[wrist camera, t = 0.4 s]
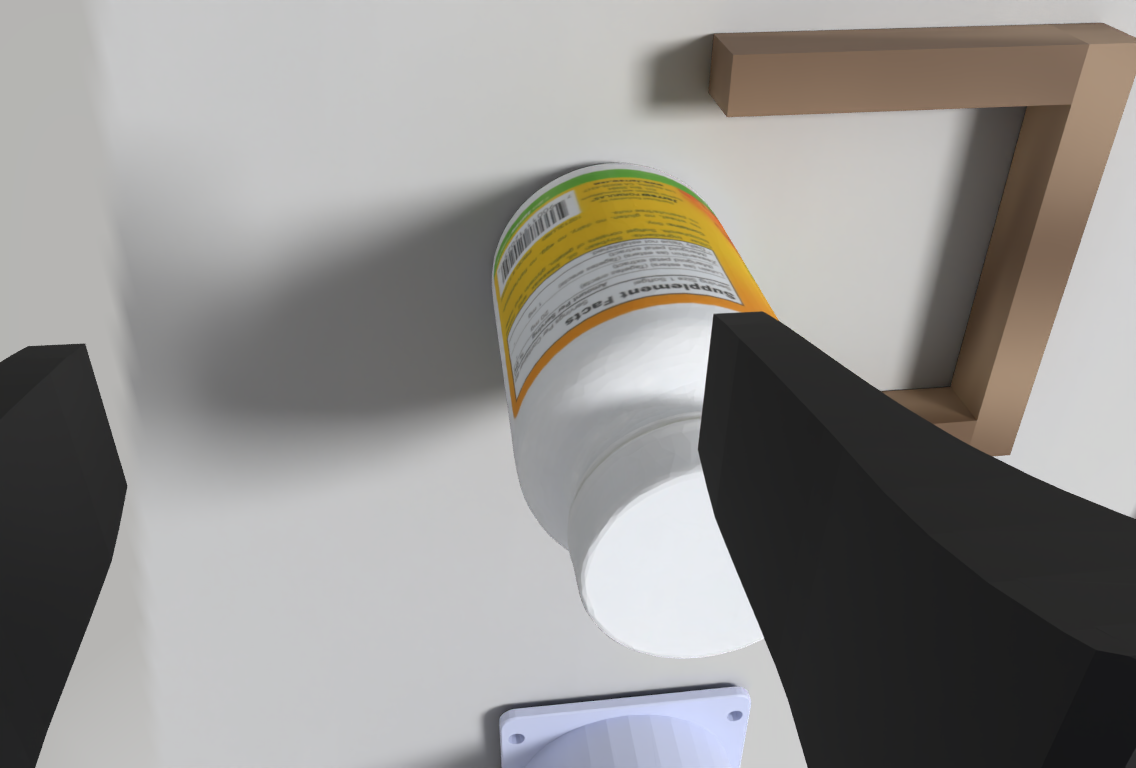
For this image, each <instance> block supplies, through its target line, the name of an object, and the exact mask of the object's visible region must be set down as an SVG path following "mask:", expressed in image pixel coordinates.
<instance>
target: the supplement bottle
mask: <svg viewBox="0 0 1136 768" xmlns="http://www.w3.org/2000/svg"><path fill="white" fill-rule="evenodd" d="M492 293H493V304H494V311H495V318H496V326H497V333H498V340H499V347H500V354H501V362H502V369H503V376H504V383H505V391H506V398H507V405H508V412H509V420H510V428H511V436H512V444H513V451H514V458H515V463H516V469H517V474H518V478H519V482H520V486H521V489H522V492H523V495H524V498H525V500H526V502H527V504H528V506H529V508H530V510H531V511H532V513H533V515H534V516H535V518H536V519H537V521H538V522H539V524H540V525H541V526H542V527H543V529H544V530H545V531H546V532H547V533H548V534H549V535H550V536H551V537H552V538H553V539H554V540H555V541H556V542H558V543H559V544H560V545H561V546H563V547H564V548H565V549H567V550H568V551H569V553H570V557H571V560H572V563H573V567H574V571H575V576H576V581H577V585H578V590H579V594H580V598H581V601H582V603H583V605H584V608H585V610H586V612H587V613H588V615H589V616H590V617H591V619H592V620H593V622H594V623H595V624H596V625H597V626H598V628H599V629H600V630H601V631H603V632H604V633H605V634H606V635H607V636H608V637H610V638H611V639H613V640H614V641H616V642H617V643H619V644H621V645H623V646H625V647H627V648H630V649H632V650H634V651H637V652H641V653H645V654H649V655H652V656H658V657H665V658H701V657H708V656H715V655H719V654H723V653H727V652H731V651H734V650H738V649H741V648H744V647H746V646H749V645H751V644H754V643H756V642H758V641H760V640H762V639H764V636H763V634H762V632H761V629H760V627H759V624H758V622H757V620H756V617H755V615H754V612H753V610H752V608H751V605H750V603H749V600H748V598H747V596H746V593H745V591H744V588H743V586H742V584H741V581H740V579H739V576H738V574H737V572H736V569H735V567H734V564H733V562H732V559H731V557H730V554H729V552H728V549H727V547H726V544H725V542H724V540H723V537H722V535H721V532H720V529H719V527H718V524H717V522H716V519H715V516H714V513H713V509H712V505H711V501H710V498H709V494H708V490H707V486H706V482H705V478H704V474H703V470H702V466H701V461H700V457H699V453H698V442H699V433H700V425H701V416H702V408H703V399H704V390H705V382H706V373H707V365H708V356H709V347H710V339H711V330H712V322H713V314H718V313H739V312H760V311H763V312H765V313H767V314H768V315H770V316H772V317H773V318H775V319H776V320H778V319H777V317H776V315H775V314H774V312H773V310H772V309H771V307H770V305H769V304H768V302H767V300H766V299H765V297H764V295H763V294H762V292H761V290H760V289H759V287H758V285H757V283H756V282H755V280H754V279H753V277H752V275H751V274H750V272H749V270H748V268H747V267H746V265H745V263H744V262H743V260H742V258H741V257H740V255H739V253H738V251H737V250H736V248H735V247H734V245H733V243H732V242H731V240H730V238H729V237H728V235H727V233H726V232H725V230H724V228H723V226H722V225H721V223H720V222H719V220H718V219H717V217H716V216H715V214H714V213H713V212H712V210H711V209H710V208H709V206H708V205H707V203H706V202H705V201H704V200H703V199H702V198H701V196H700V195H699V194H697V193H696V192H695V191H694V190H693V189H692V188H691V187H689V186H688V185H686V184H685V183H684V182H682V181H681V180H679V179H677V178H675V177H674V176H672V175H670V174H668V173H665V172H662V171H660V170H657V169H654V168H650V167H646V166H641V165H635V164H627V163H608V164H599V165H594V166H589V167H585V168H581V169H578V170H575V171H572V172H570V173H568V174H565V175H563V176H561V177H559V178H557V179H555V180H554V181H552V182H550V183H548V184H547V185H545V186H544V187H542V188H541V189H540V190H538V191H537V192H536V193H534V194H533V195H532V196H531V197H530V198H529V199H528V200H527V201H526V202H524V203H523V204H522V206H521V207H520V208H519V209H518V210H517V212H516V213H515V214H514V216H513V217H512V218H511V220H510V221H509V223H508V224H507V226H506V228H505V230H504V231H503V234H502V236H501V238H500V241H499V243H498V246H497V249H496V253H495V256H494V262H493V269H492ZM778 321H779V320H778Z"/></svg>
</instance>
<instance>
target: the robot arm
mask: <svg viewBox="0 0 1136 768" xmlns="http://www.w3.org/2000/svg"><path fill="white" fill-rule="evenodd" d="M698 453H699V457H700V461H701V466H702V470H703V474H704V478H705V482H706V486H707V490H708V494H709V498H710V501H711V505H712V509H713V513H714V516H715V519H716V522H717V524H718V527H719V529H720V532H721V535H722V537H723V540H724V542H725V544H726V547H727V549H728V552H729V554H730V557H731V559H732V562H733V564H734V567H735V569H736V572H737V574H738V576H739V579H740V581H741V584H742V586H743V588H744V591H745V593H746V596H747V598H748V600H749V603H750V605H751V608H752V610H753V612H754V615H755V617H756V620H757V622H758V624H759V627H760V629H761V632H762V634H763V636H764V639H765V641H766V644H767V646H768V648H769V651H770V653H771V656H772V658H773V661H774V663H775V665H776V668H777V671H778V674H779V676H780V679H781V682H782V685H783V687H784V690H785V693H786V696H787V698H788V701H789V705H790V708H791V712H792V715H793V718H794V722H795V725H796V729H797V732H798V736H799V739H800V743H801V746H802V749H803V753H804V756H805V760H806V763H807V767H808V768H1136V519H1134V518H1131V517H1128V516H1126V515H1123V514H1121V513H1118V512H1116V511H1113V510H1111V509H1108V508H1106V507H1103V506H1101V505H1098V504H1096V503H1093V502H1091V501H1089V500H1086V499H1084V498H1081V497H1079V496H1076V495H1074V494H1071V493H1069V492H1066V491H1064V490H1062V489H1059V488H1057V487H1055V486H1053V485H1050V484H1048V483H1046V482H1044V481H1041V480H1039V479H1037V478H1035V477H1033V476H1030V475H1028V474H1026V473H1024V472H1022V471H1020V470H1018V469H1016V468H1014V467H1012V466H1010V465H1008V464H1006V463H1004V462H1002V461H1000V460H998V459H996V458H994V457H992V456H990V455H988V454H986V453H984V452H982V451H980V450H978V449H976V448H974V447H973V446H971V445H969V444H967V443H965V442H963V441H962V440H960V439H958V438H956V437H954V436H953V435H951V434H949V433H947V432H946V431H944V430H942V429H941V428H939V427H937V426H936V425H934V424H932V423H931V422H929V421H927V420H926V419H924V418H922V417H921V416H919V415H917V414H916V413H914V412H912V411H911V410H909V409H907V408H906V407H904V406H903V405H901V404H899V403H898V402H896V401H895V400H893V399H892V398H890V397H888V396H887V395H885V394H884V393H882V392H881V391H879V390H878V389H876V388H875V387H873V386H872V385H870V384H869V383H867V382H866V381H864V380H863V379H861V378H860V377H859V376H857V375H856V374H854V373H853V372H851V371H850V370H848V369H847V368H845V367H844V366H843V365H841V364H840V363H838V362H837V361H835V360H834V359H833V358H831V357H830V356H828V355H827V354H826V353H824V352H823V351H821V350H820V349H818V348H817V347H816V346H814V345H813V344H811V343H810V342H809V341H807V340H806V339H804V338H803V337H801V336H800V335H799V334H797V333H796V332H794V331H793V330H791V329H790V328H789V327H787V326H786V325H784V324H783V323H781V322H780V321H778V320H776V319H775V318H773V317H772V316H770V315H768V314H767V313H765V312H763V311H760V312H739V313H718V314H713V322H712V330H711V339H710V347H709V356H708V365H707V373H706V382H705V390H704V399H703V408H702V416H701V425H700V433H699V442H698ZM126 490H127V483H126V479H125V476H124V473H123V469H122V466H121V463H120V459H119V456H118V453H117V449H116V446H115V443H114V439H113V436H112V432H111V429H110V426H109V423H108V419H107V416H106V412H105V409H104V406H103V402H102V399H101V396H100V392H99V389H98V385H97V382H96V379H95V375H94V372H93V369H92V365H91V362H90V359H89V355H88V352H87V349H86V346H85V344H67V345H45V346H28V347H26V348H24V349H22V350H20V351H18V352H17V353H15V354H13V355H11V356H10V357H8V358H6V359H5V360H3V361H2V362H0V768H35V766H36V763H37V760H38V757H39V754H40V751H41V748H42V745H43V742H44V739H45V736H46V733H47V730H48V728H49V725H50V722H51V720H52V717H53V715H54V712H55V710H56V707H57V704H58V702H59V699H60V696H61V694H62V691H63V689H64V686H65V683H66V681H67V678H68V676H69V673H70V670H71V668H72V665H73V663H74V660H75V657H76V655H77V652H78V650H79V647H80V644H81V642H82V639H83V637H84V634H85V631H86V629H87V626H88V624H89V621H90V618H91V616H92V613H93V610H94V607H95V605H96V602H97V600H98V597H99V594H100V591H101V588H102V586H103V583H104V581H105V578H106V575H107V572H108V569H109V567H110V564H111V561H112V557H113V553H114V548H115V544H116V539H117V535H118V531H119V526H120V521H121V516H122V511H123V506H124V501H125V495H126ZM750 707H751V699H750V696H749V693H748V691H747V690H746V689H745V688H742V687H725V688H716V689H706V690H696V691H686V692H676V693H666V694H656V695H646V696H637V697H627V698H617V699H607V700H597V701H587V702H577V703H567V704H558V705H548V706H538V707H528V708H518V709H512V710H508V711H507V712H505V713H503V714H502V716H501V717H500V720H499V727H500V747H501V767H502V768H740V765H741V759H742V753H743V747H744V742H745V736H746V730H747V724H748V718H749V713H750Z"/></svg>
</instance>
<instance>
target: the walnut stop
mask: <svg viewBox="0 0 1136 768" xmlns="http://www.w3.org/2000/svg"><path fill="white" fill-rule="evenodd" d="M1135 75H1136V38H1135V37H1133V36H1131V35H1128V34H1126V33H1124V32H1122V31H1120V30H1118V29H1115V28H1113V27H1111V26H1109V25H1107V24H1104V23H1081V24H1044V25H1008V26H971V27H935V28H898V29H862V30H825V31H789V32H753V33H716V34H714V36H713V47H712V59H711V70H710V81H709V94H710V95H711V97H712V98H713V99H714V101H715V102H716V103H717V105H718V106H719V107H720V108H721V110H722V111H723V112H724V114H725V115H726V116H727V117H744V116H771V115H798V114H825V113H852V112H879V111H906V110H933V109H960V108H987V107H1014V106H1027V109H1026V112H1025V116H1024V120H1023V123H1022V127H1021V130H1020V134H1019V138H1018V141H1017V145H1016V149H1015V152H1014V156H1013V160H1012V163H1011V167H1010V171H1009V174H1008V178H1007V182H1006V185H1005V189H1004V193H1003V196H1002V200H1001V204H1000V207H999V211H998V215H997V218H996V222H995V226H994V229H993V233H992V237H991V240H990V244H989V247H988V251H987V255H986V258H985V262H984V266H983V269H982V273H981V277H980V280H979V284H978V288H977V291H976V295H975V299H974V302H973V306H972V310H971V313H970V317H969V321H968V324H967V328H966V332H965V335H964V339H963V343H962V346H961V350H960V353H959V357H958V361H957V364H956V368H955V372H954V375H953V379H952V383H951V386H950V387H941V388H926V389H912V390H897V391H883V392H882V393H884V394H885V395H887V396H888V397H890V398H892V399H893V400H895V401H896V402H898V403H899V404H901V405H903V406H904V407H906V408H907V409H909V410H911V411H912V412H914V413H916V414H917V415H919V416H921V417H922V418H924V419H926V420H927V421H929V422H931V423H932V424H934V425H936V426H937V427H939V428H941V429H942V430H944V431H946V432H947V433H949V434H951V435H953V436H954V437H956V438H958V439H960V440H962V441H963V442H965V443H967V444H969V445H971V446H973V447H974V448H976V449H978V450H980V451H982V452H984V453H986V454H988V455H990V456H1003V455H1010V453H1011V450H1012V447H1013V444H1014V441H1015V438H1016V435H1017V432H1018V429H1019V426H1020V423H1021V420H1022V417H1023V414H1024V411H1025V408H1026V405H1027V402H1028V399H1029V396H1030V393H1031V390H1032V387H1033V384H1034V381H1035V378H1036V375H1037V372H1038V369H1039V366H1040V363H1041V360H1042V357H1043V354H1044V350H1045V347H1046V344H1047V341H1048V338H1049V335H1050V332H1051V329H1052V326H1053V323H1054V320H1055V317H1056V314H1057V311H1058V308H1059V305H1060V302H1061V299H1062V296H1063V293H1064V290H1065V287H1066V284H1067V281H1068V278H1069V275H1070V272H1071V269H1072V266H1073V263H1074V260H1075V257H1076V254H1077V251H1078V248H1079V245H1080V242H1081V238H1082V235H1083V232H1084V229H1085V226H1086V223H1087V220H1088V217H1089V214H1090V211H1091V208H1092V205H1093V202H1094V199H1095V196H1096V193H1097V190H1098V187H1099V184H1100V181H1101V178H1102V175H1103V172H1104V169H1105V166H1106V163H1107V160H1108V157H1109V154H1110V151H1111V148H1112V145H1113V142H1114V139H1115V136H1116V133H1117V130H1118V126H1119V123H1120V120H1121V117H1122V114H1123V111H1124V108H1125V105H1126V102H1127V99H1128V96H1129V93H1130V90H1131V87H1132V84H1133V81H1134V78H1135Z"/></svg>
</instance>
